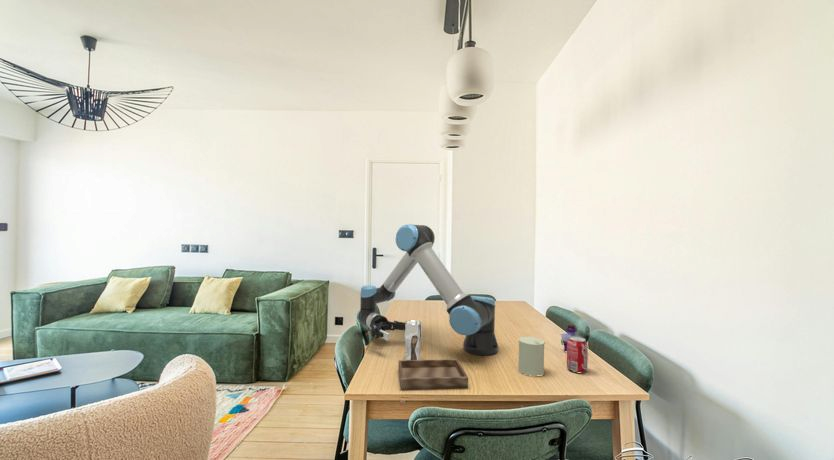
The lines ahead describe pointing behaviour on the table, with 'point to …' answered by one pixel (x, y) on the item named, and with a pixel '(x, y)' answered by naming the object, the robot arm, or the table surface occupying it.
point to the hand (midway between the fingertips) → (402, 334)
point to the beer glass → (412, 339)
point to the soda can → (577, 354)
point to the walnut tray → (431, 374)
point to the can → (531, 356)
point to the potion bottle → (568, 335)
